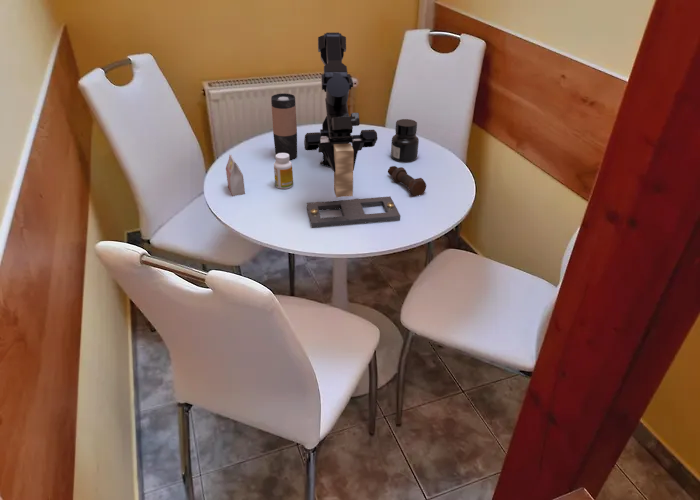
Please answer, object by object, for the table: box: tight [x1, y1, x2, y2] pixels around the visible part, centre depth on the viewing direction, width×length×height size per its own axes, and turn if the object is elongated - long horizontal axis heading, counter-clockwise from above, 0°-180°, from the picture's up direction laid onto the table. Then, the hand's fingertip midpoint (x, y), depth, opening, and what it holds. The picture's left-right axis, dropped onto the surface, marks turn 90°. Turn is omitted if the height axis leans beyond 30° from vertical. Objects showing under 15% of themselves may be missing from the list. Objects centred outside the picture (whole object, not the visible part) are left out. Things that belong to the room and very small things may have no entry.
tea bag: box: [225, 154, 246, 197], centre depth 155 cm, size 4×7×10 cm, turn 22°
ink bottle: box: [390, 118, 420, 163], centre depth 175 cm, size 10×9×12 cm
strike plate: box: [306, 195, 401, 229], centre depth 146 cm, size 24×11×2 cm, turn 101°
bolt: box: [387, 165, 427, 197], centre depth 161 cm, size 6×5×15 cm
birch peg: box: [333, 143, 354, 198], centre depth 139 cm, size 4×4×13 cm
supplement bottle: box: [273, 153, 294, 190], centre depth 158 cm, size 5×5×10 cm
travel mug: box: [271, 92, 298, 162], centre depth 172 cm, size 8×8×20 cm
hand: (343, 171), depth 139 cm, fingers closed on birch peg, 4 cm apart
